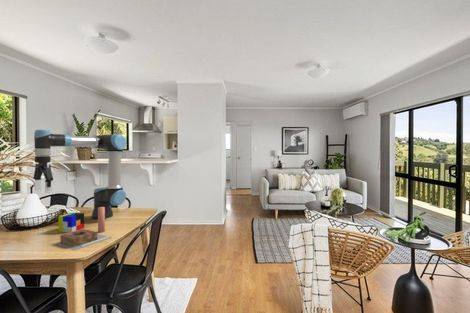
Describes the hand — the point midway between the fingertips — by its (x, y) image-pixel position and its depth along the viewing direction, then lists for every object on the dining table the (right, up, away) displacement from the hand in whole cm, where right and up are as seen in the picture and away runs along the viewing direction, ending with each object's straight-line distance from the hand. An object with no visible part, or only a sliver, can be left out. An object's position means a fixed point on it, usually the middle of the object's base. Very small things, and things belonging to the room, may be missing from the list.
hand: (43, 191), depth 150 cm
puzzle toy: (+7, -28, +16) cm, 33 cm away
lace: (+35, -27, -8) cm, 45 cm away
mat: (+28, -28, -6) cm, 40 cm away
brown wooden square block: (+26, -27, -7) cm, 38 cm away
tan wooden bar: (+29, -27, +10) cm, 41 cm away
